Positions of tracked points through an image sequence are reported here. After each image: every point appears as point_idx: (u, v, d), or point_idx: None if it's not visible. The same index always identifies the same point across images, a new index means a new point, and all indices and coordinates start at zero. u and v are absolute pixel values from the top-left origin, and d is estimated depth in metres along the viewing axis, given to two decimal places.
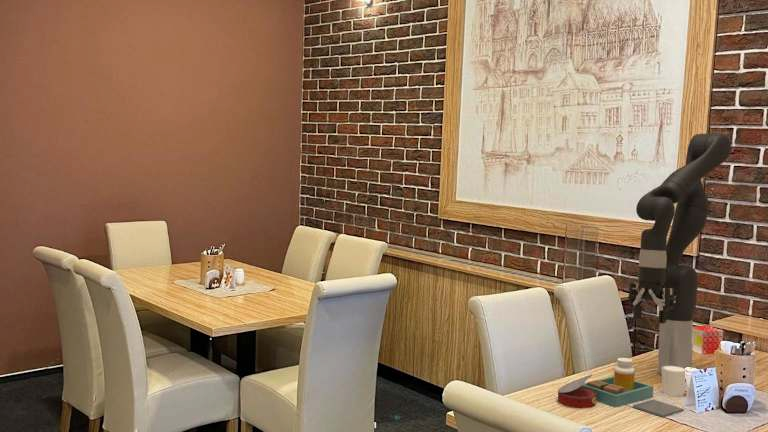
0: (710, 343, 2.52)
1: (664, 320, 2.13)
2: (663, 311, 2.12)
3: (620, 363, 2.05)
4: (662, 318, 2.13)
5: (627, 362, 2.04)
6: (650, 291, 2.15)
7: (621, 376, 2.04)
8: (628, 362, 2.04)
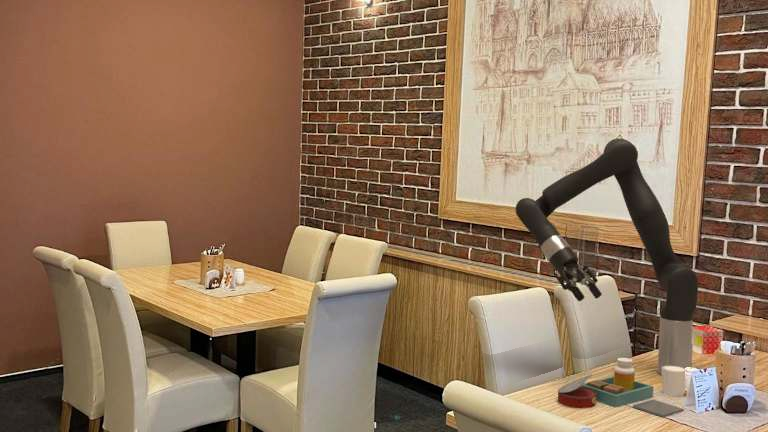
0: (710, 343, 2.52)
1: (577, 297, 2.10)
2: None
3: (620, 363, 2.05)
4: None
5: (627, 362, 2.04)
6: None
7: (621, 376, 2.04)
8: (628, 362, 2.04)
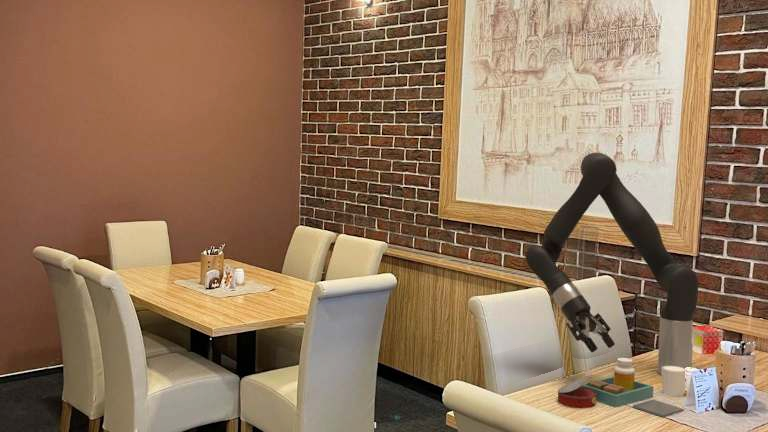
0: (710, 343, 2.52)
1: (590, 348, 2.08)
2: (584, 341, 2.10)
3: (620, 363, 2.05)
4: None
5: (627, 362, 2.04)
6: None
7: (621, 376, 2.04)
8: (628, 362, 2.04)
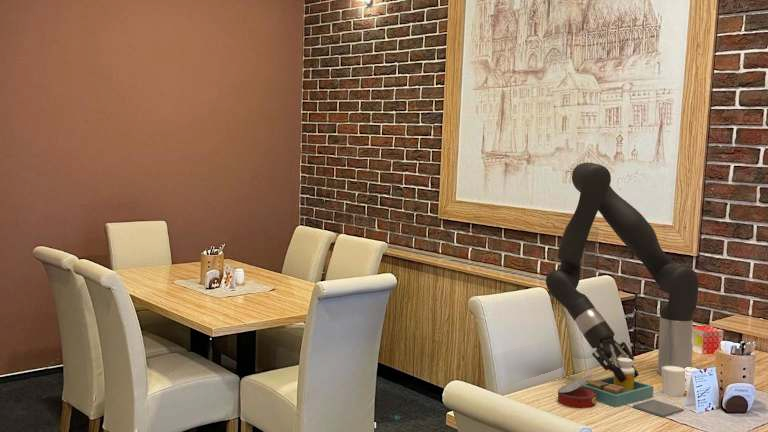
0: (710, 343, 2.52)
1: (619, 378, 2.03)
2: (613, 371, 2.04)
3: (620, 363, 2.05)
4: None
5: (627, 362, 2.04)
6: None
7: None
8: (628, 362, 2.04)
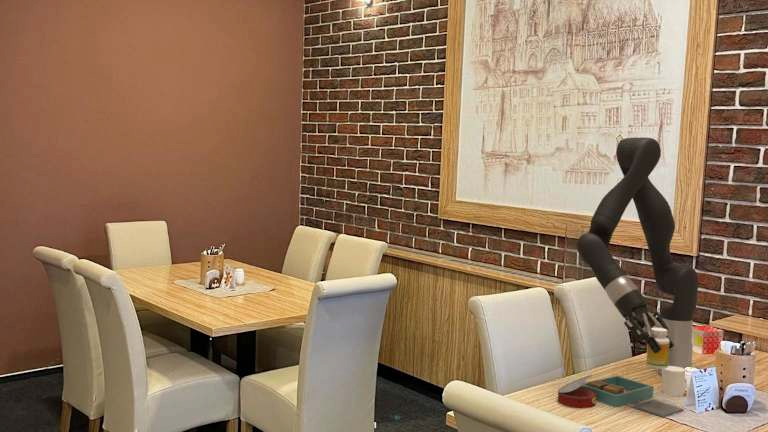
0: (710, 343, 2.52)
1: (653, 349, 1.90)
2: (646, 341, 1.92)
3: (654, 333, 1.92)
4: None
5: (662, 332, 1.91)
6: None
7: None
8: (663, 332, 1.91)
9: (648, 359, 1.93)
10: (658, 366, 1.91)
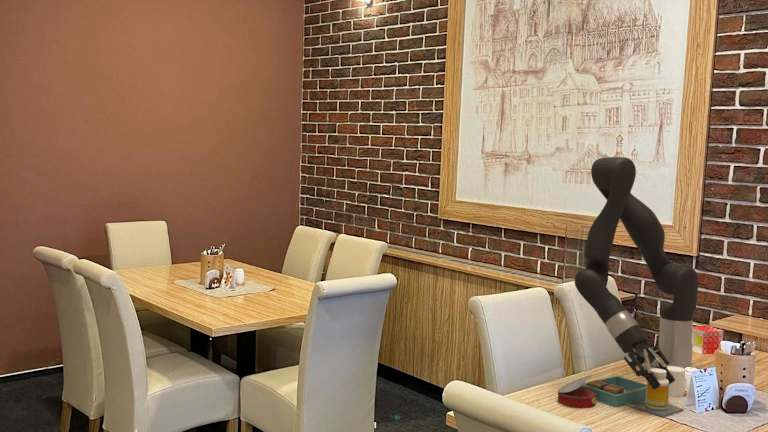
0: (710, 343, 2.52)
1: (652, 385, 1.90)
2: (645, 377, 1.92)
3: None
4: None
5: (661, 373, 1.91)
6: None
7: None
8: (662, 373, 1.91)
9: (648, 400, 1.93)
10: (658, 407, 1.91)
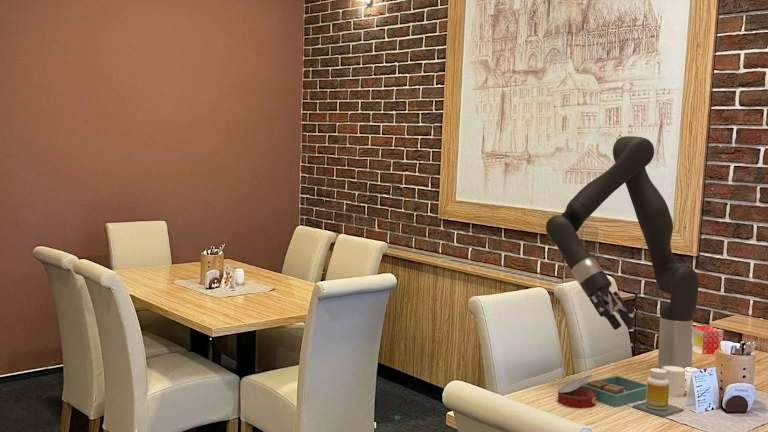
0: (710, 343, 2.52)
1: (614, 325, 1.99)
2: (607, 318, 2.00)
3: (654, 374, 1.92)
4: None
5: (661, 373, 1.91)
6: None
7: (655, 388, 1.91)
8: (662, 373, 1.92)
9: (648, 400, 1.93)
10: (658, 407, 1.91)
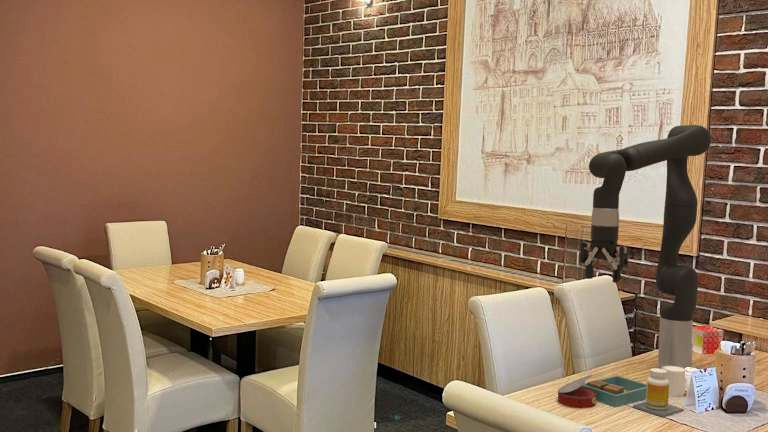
0: (710, 343, 2.52)
1: (618, 279, 2.09)
2: (617, 270, 2.09)
3: (654, 374, 1.92)
4: (616, 277, 2.09)
5: (661, 373, 1.91)
6: (604, 250, 2.10)
7: (655, 388, 1.91)
8: (662, 373, 1.92)
9: (648, 400, 1.93)
10: (658, 407, 1.91)
